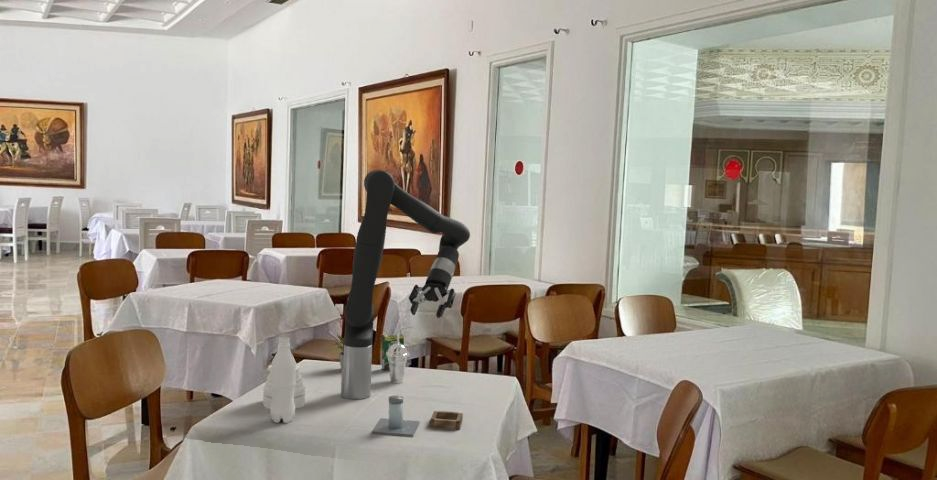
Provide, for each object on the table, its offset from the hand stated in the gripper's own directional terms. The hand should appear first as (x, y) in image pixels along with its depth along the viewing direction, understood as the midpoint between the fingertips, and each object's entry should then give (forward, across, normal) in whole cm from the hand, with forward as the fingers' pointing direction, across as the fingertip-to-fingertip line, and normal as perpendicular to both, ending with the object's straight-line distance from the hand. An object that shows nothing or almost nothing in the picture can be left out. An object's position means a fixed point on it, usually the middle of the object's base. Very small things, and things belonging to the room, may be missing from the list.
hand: (425, 315), depth 241 cm
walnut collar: (+27, +12, +16) cm, 34 cm away
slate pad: (+35, 0, +9) cm, 36 cm away
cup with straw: (+3, -21, +41) cm, 46 cm away
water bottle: (+42, -32, +2) cm, 53 cm away
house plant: (-1, -46, +45) cm, 64 cm away
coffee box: (-7, -30, +51) cm, 59 cm away
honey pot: (+32, -42, +12) cm, 54 cm away
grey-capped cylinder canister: (+34, 0, +8) cm, 35 cm away
